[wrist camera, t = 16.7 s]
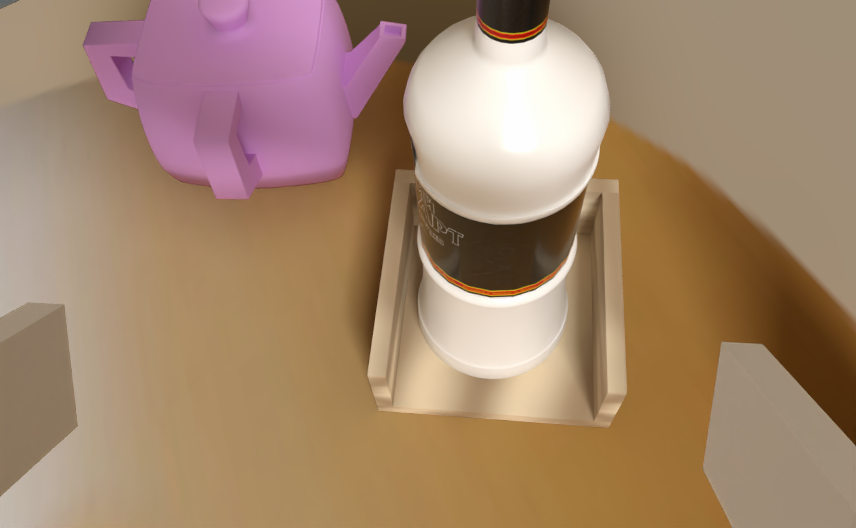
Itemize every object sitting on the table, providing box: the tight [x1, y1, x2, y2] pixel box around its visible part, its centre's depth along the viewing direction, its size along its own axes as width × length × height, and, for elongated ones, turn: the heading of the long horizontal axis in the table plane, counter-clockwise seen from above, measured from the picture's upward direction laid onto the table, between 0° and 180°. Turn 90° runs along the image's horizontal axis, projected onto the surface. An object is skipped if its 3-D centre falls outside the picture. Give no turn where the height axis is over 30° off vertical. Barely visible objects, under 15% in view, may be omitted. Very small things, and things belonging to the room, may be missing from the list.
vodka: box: [403, 0, 610, 379], centre depth 35 cm, size 9×9×30 cm
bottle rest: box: [367, 169, 627, 428], centre depth 47 cm, size 14×14×6 cm
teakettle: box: [83, 0, 407, 199], centre depth 53 cm, size 17×17×12 cm
